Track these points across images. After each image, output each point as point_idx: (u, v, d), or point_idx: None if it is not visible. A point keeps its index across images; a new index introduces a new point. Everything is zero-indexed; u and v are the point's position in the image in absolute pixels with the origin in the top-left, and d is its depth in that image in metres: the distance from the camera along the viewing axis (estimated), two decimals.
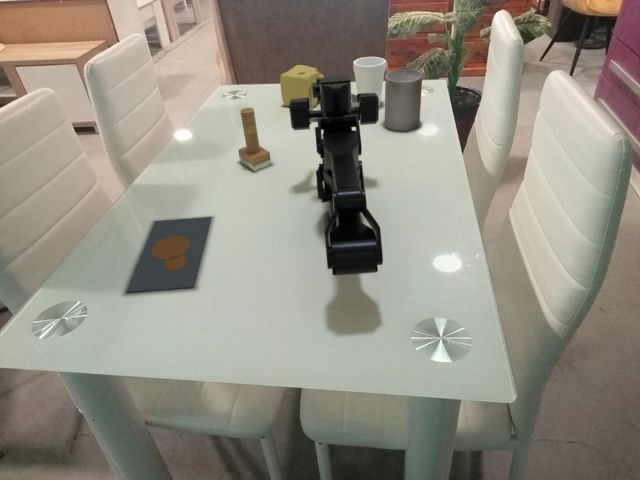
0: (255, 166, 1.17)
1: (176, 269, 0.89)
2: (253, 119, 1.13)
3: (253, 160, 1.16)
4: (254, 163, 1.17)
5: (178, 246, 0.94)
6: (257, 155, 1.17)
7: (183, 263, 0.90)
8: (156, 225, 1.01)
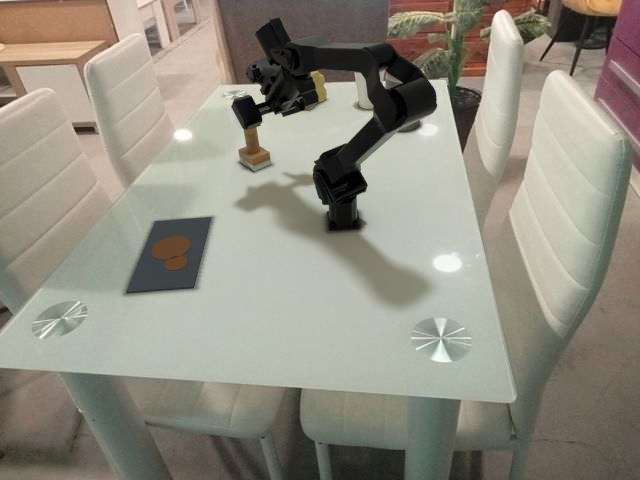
0: (255, 166, 1.17)
1: (176, 269, 0.89)
2: None
3: (253, 160, 1.16)
4: (254, 163, 1.17)
5: (178, 246, 0.94)
6: (257, 155, 1.17)
7: (183, 263, 0.90)
8: (156, 225, 1.01)
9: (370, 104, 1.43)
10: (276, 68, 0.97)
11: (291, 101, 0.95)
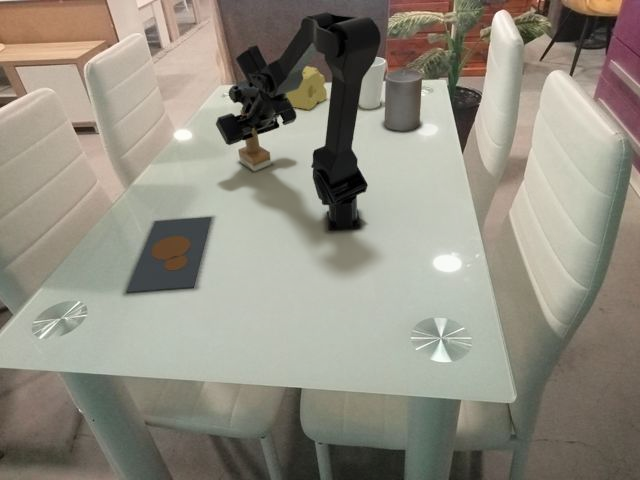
0: (255, 166, 1.17)
1: (176, 269, 0.89)
2: None
3: (253, 160, 1.16)
4: (254, 163, 1.17)
5: (178, 246, 0.94)
6: (257, 155, 1.17)
7: (183, 263, 0.90)
8: (156, 225, 1.01)
9: (370, 104, 1.43)
10: (256, 89, 1.07)
11: (269, 119, 1.05)
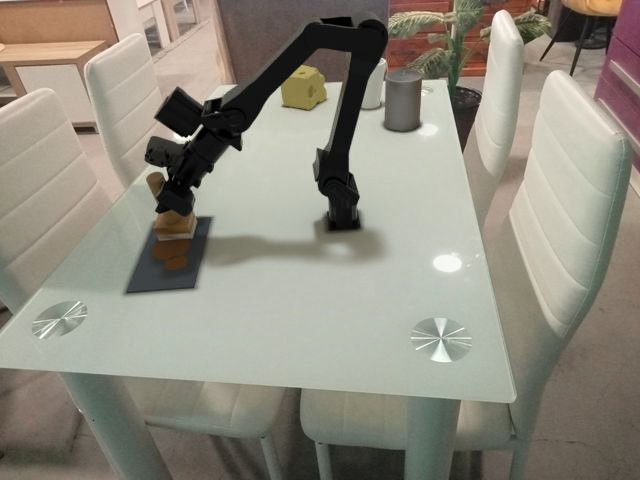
0: (191, 232, 0.95)
1: (176, 269, 0.89)
2: None
3: (188, 227, 0.94)
4: (190, 229, 0.94)
5: (178, 246, 0.94)
6: (186, 219, 0.94)
7: (183, 263, 0.90)
8: None
9: (370, 104, 1.43)
10: (170, 143, 0.86)
11: None
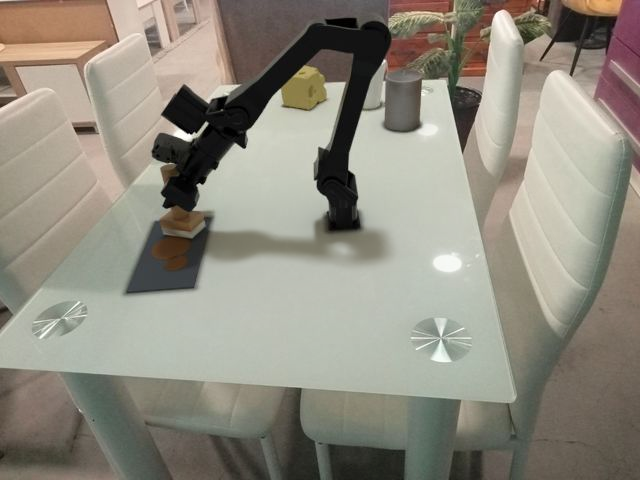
0: (192, 232, 0.95)
1: (176, 269, 0.89)
2: None
3: (190, 225, 0.94)
4: (191, 228, 0.94)
5: (178, 246, 0.94)
6: (191, 218, 0.95)
7: (183, 263, 0.90)
8: (156, 225, 1.01)
9: (370, 104, 1.43)
10: (177, 140, 0.88)
11: None
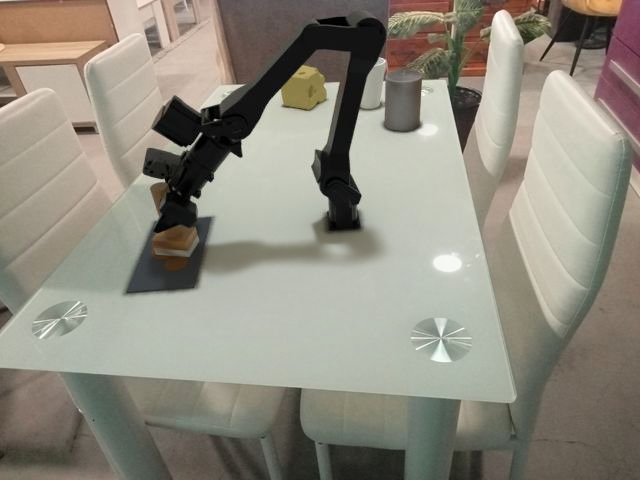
0: (189, 250, 0.91)
1: (176, 269, 0.89)
2: None
3: (186, 244, 0.90)
4: (187, 247, 0.90)
5: None
6: (186, 236, 0.91)
7: (183, 263, 0.90)
8: None
9: (370, 104, 1.43)
10: (167, 154, 0.84)
11: None
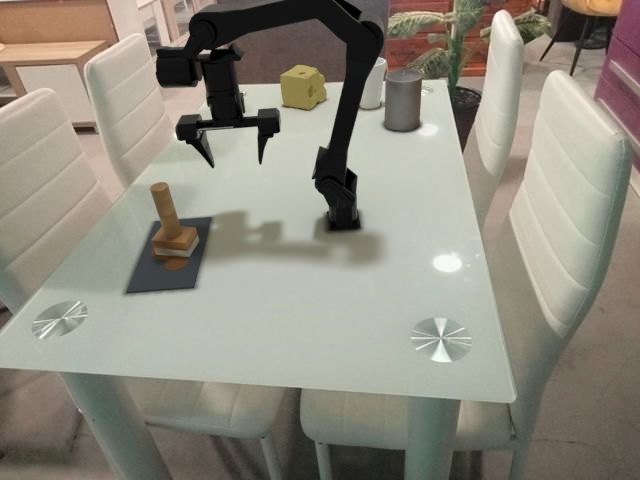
0: (189, 250, 0.91)
1: (176, 269, 0.89)
2: (170, 194, 0.87)
3: (186, 244, 0.90)
4: (187, 247, 0.90)
5: None
6: (186, 236, 0.91)
7: (183, 263, 0.90)
8: (156, 225, 1.01)
9: (370, 104, 1.43)
10: None
11: (221, 102, 0.82)
